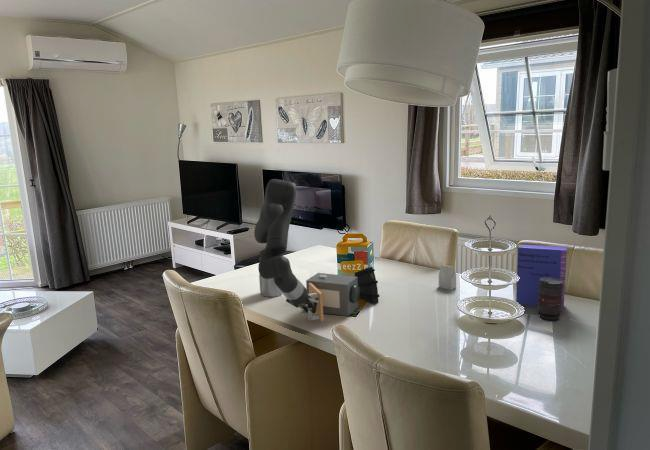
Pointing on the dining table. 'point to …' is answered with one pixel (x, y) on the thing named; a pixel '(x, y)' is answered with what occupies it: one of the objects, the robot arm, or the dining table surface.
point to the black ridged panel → (367, 285)
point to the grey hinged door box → (337, 292)
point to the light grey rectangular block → (447, 277)
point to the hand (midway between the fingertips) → (311, 310)
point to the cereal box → (538, 271)
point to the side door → (315, 294)
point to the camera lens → (550, 299)
